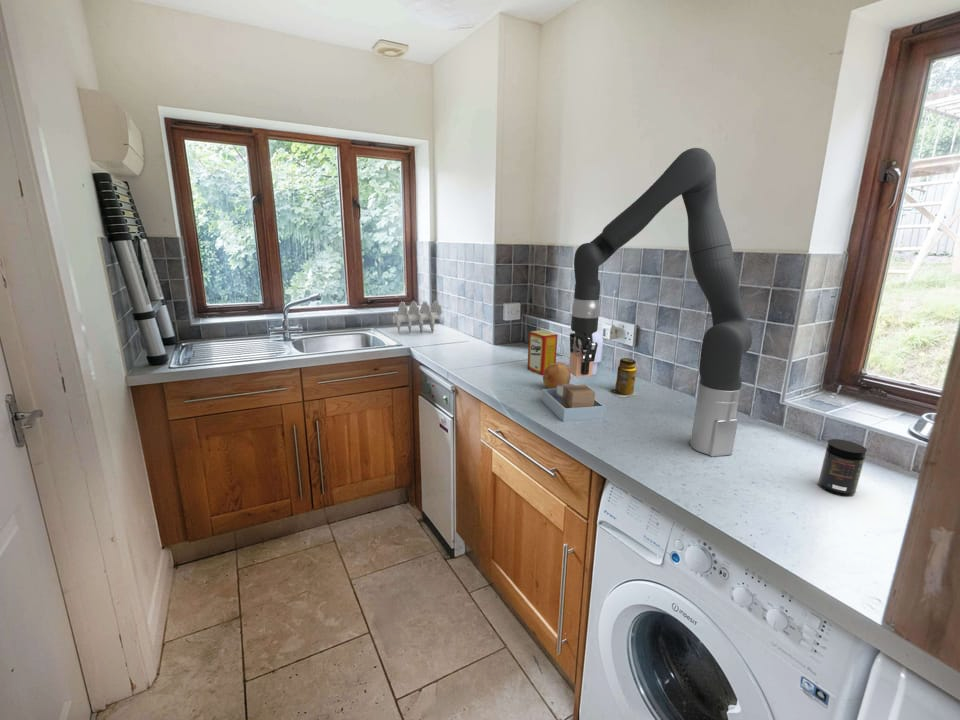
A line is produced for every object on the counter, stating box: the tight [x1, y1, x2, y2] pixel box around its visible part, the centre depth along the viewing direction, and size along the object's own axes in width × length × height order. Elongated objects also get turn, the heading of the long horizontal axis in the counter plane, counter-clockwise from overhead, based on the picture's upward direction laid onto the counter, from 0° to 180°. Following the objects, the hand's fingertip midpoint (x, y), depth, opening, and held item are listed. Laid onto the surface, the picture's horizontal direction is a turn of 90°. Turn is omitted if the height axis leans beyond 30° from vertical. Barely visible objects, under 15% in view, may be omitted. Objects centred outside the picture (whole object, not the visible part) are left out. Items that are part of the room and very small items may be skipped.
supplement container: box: [817, 438, 868, 497], centre depth 101 cm, size 7×7×10 cm
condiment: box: [608, 357, 639, 398], centre depth 160 cm, size 7×8×12 cm
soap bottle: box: [583, 330, 604, 376], centre depth 181 cm, size 10×10×24 cm
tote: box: [541, 388, 607, 423], centre depth 143 cm, size 18×13×4 cm
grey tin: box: [556, 383, 574, 405], centre depth 147 cm, size 6×6×6 cm
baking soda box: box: [527, 329, 559, 376], centre depth 183 cm, size 10×6×16 cm
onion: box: [542, 361, 572, 389], centre depth 162 cm, size 10×10×10 cm
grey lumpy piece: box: [392, 300, 443, 335], centre depth 249 cm, size 18×18×25 cm
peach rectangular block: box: [568, 352, 593, 378], centre depth 136 cm, size 5×5×6 cm
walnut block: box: [562, 384, 596, 408], centre depth 139 cm, size 7×7×8 cm
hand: (580, 371), depth 136 cm, fingers closed on peach rectangular block, 5 cm apart
